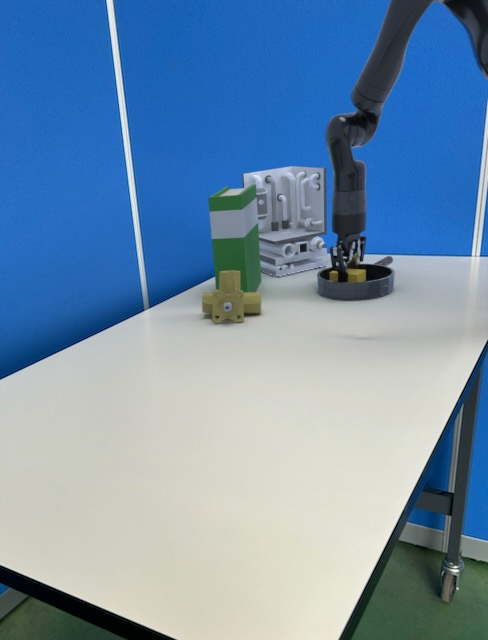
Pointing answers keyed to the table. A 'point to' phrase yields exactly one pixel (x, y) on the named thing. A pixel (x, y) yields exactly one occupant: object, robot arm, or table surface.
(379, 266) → the pan
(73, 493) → the table surface
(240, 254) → the hardback book
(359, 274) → the sponge
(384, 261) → the pan handle
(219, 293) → the ball valve
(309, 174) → the grey pipe machine model
